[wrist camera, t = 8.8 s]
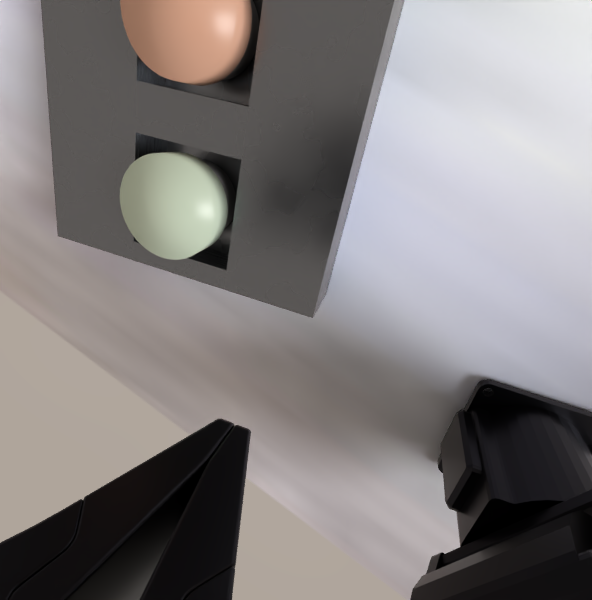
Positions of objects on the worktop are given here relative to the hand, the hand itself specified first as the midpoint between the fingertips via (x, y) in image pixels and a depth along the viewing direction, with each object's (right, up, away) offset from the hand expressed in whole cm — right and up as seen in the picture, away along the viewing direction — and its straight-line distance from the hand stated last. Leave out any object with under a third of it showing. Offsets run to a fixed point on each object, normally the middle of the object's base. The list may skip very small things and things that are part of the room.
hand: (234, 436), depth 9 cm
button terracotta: (-2, +14, +7) cm, 16 cm away
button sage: (-3, +8, +10) cm, 13 cm away
